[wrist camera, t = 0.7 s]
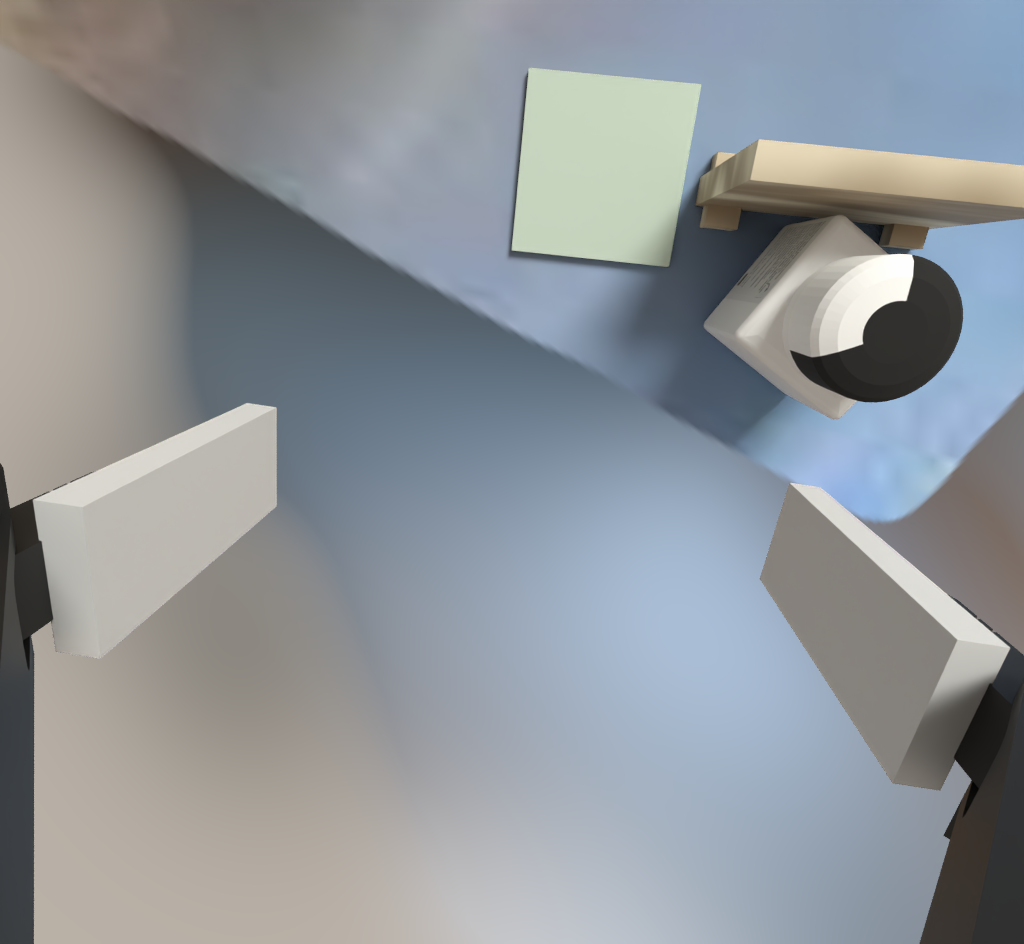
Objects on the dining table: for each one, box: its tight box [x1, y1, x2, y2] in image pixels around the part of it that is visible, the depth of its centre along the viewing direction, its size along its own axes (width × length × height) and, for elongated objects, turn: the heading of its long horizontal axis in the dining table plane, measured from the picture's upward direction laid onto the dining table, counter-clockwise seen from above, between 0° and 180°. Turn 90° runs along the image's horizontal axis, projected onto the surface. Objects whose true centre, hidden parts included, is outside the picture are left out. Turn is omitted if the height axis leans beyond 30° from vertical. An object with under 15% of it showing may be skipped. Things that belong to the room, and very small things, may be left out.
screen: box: [695, 139, 1024, 249], centre depth 31 cm, size 4×14×11 cm, turn 84°
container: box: [704, 215, 963, 419], centre depth 32 cm, size 8×8×13 cm
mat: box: [512, 68, 701, 267], centre depth 36 cm, size 10×10×1 cm
